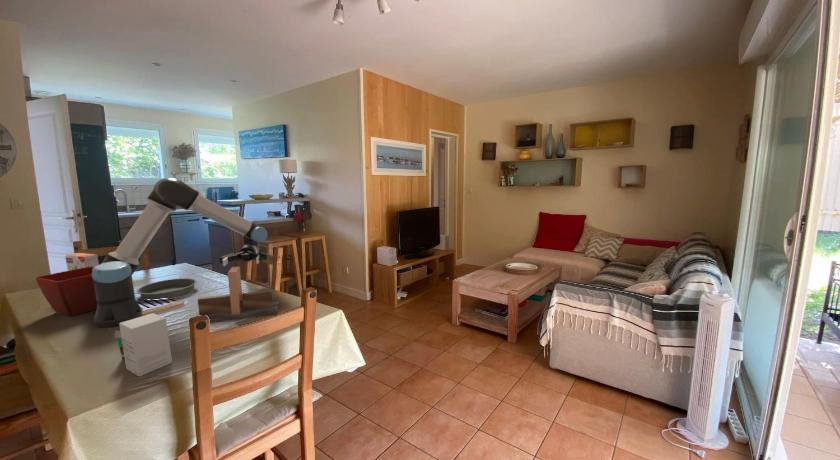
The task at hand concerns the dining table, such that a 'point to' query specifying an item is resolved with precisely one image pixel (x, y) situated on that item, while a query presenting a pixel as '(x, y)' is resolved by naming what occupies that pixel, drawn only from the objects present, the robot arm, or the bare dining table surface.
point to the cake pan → (167, 288)
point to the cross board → (244, 313)
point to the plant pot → (69, 291)
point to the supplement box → (145, 343)
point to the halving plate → (235, 289)
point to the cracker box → (81, 260)
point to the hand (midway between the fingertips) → (240, 262)
